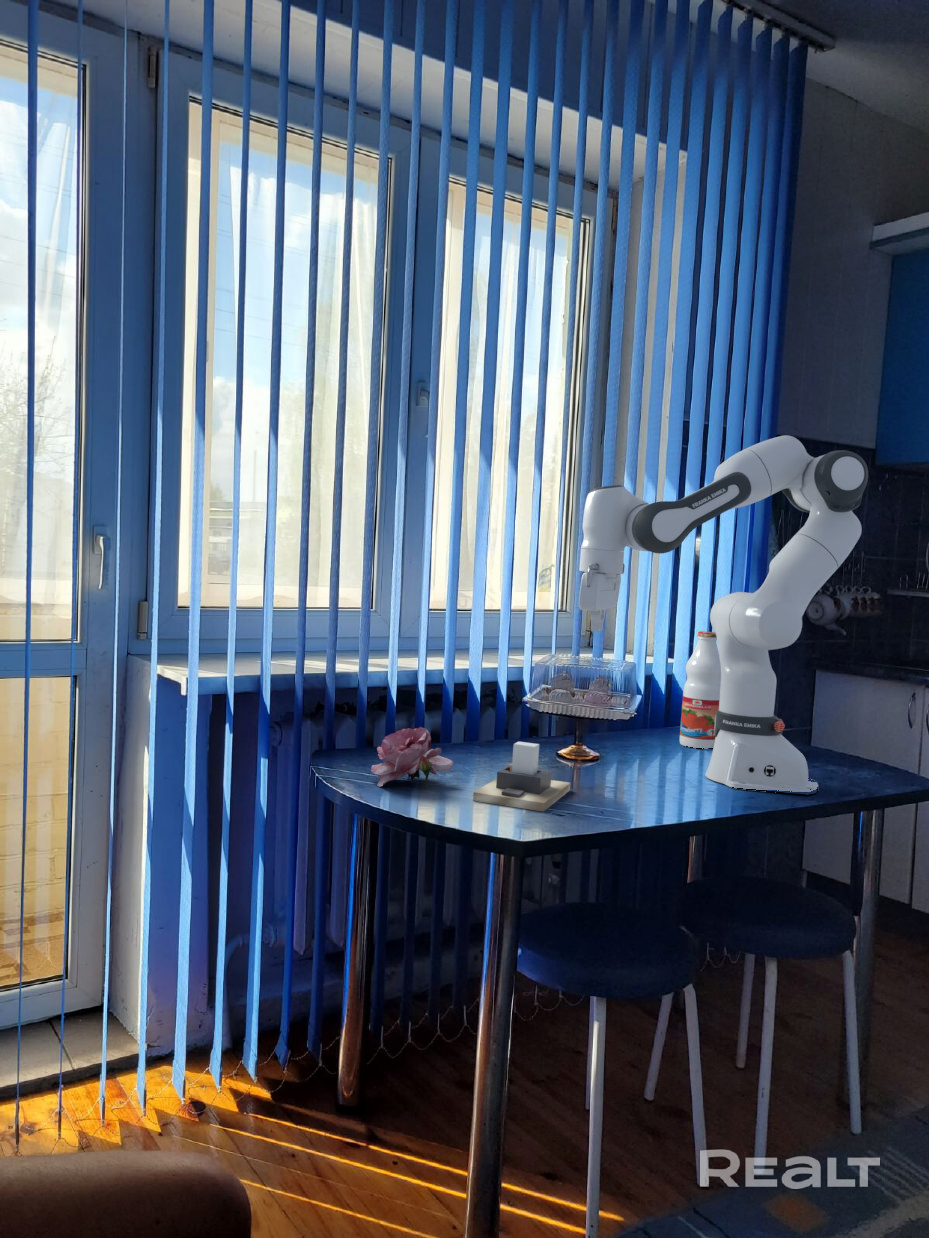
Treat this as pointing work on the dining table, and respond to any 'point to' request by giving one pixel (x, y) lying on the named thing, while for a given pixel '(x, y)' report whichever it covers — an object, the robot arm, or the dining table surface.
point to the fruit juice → (701, 693)
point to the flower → (409, 756)
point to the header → (524, 780)
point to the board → (521, 796)
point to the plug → (525, 758)
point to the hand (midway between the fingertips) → (596, 631)
